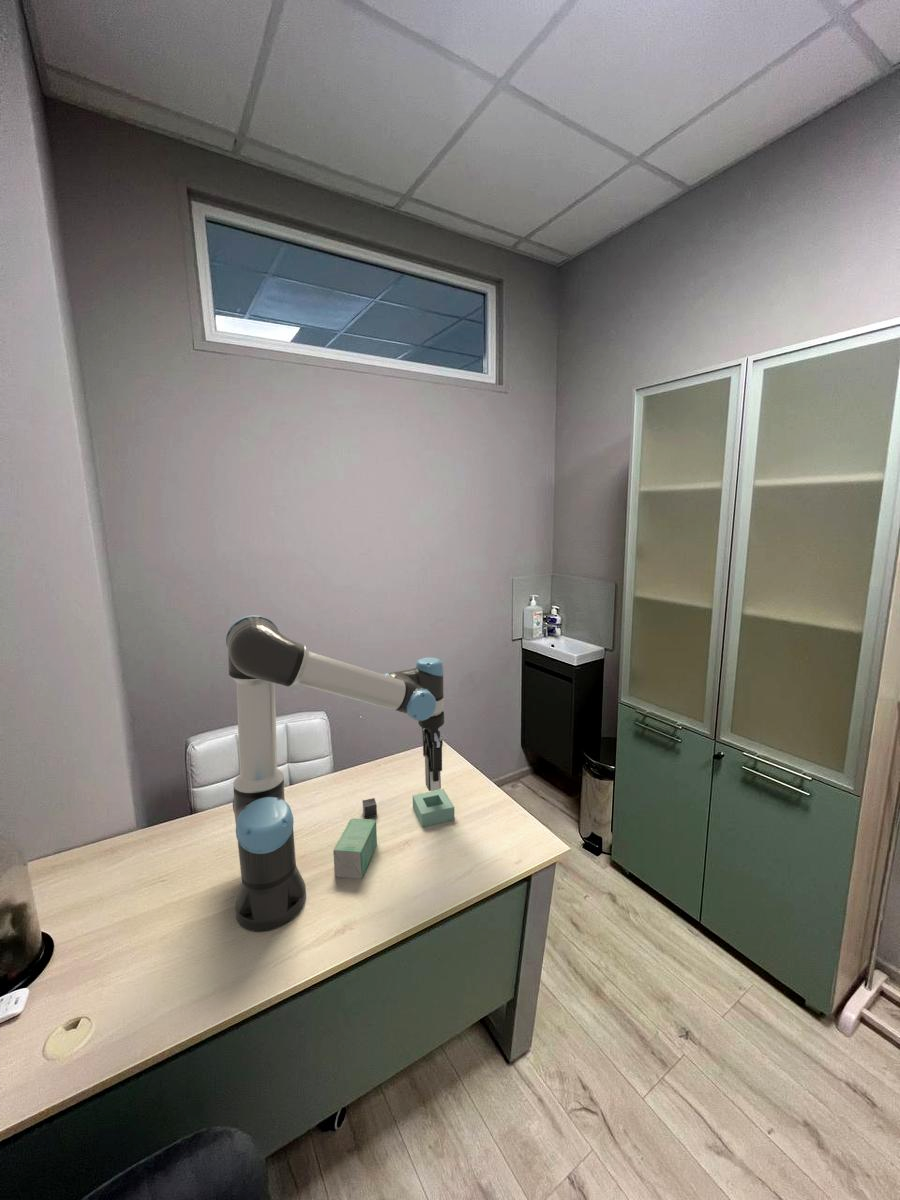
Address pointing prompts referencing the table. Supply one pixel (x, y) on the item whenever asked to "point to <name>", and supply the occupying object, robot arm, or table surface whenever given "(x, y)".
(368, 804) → the short pin
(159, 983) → the table surface
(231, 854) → the table surface
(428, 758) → the long pin
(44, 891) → the table surface
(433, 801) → the hole block
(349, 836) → the box
